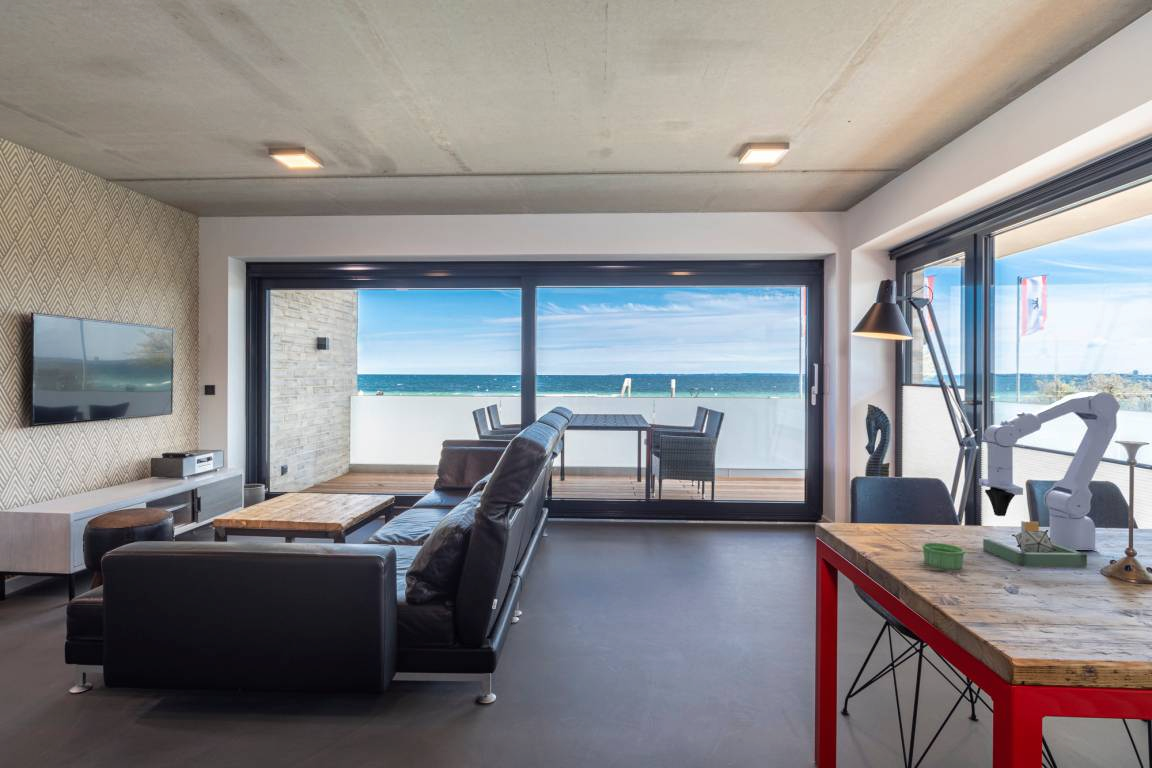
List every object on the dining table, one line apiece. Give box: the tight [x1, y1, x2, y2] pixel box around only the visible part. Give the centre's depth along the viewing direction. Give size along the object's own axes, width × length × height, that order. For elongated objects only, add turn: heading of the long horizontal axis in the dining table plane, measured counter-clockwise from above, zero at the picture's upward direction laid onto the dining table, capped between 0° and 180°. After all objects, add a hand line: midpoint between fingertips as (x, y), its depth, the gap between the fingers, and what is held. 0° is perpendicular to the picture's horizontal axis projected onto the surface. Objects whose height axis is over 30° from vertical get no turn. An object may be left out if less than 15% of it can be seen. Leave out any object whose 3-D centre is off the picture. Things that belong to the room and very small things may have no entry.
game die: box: [1011, 529, 1058, 553], centre depth 151 cm, size 9×8×10 cm
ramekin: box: [921, 542, 965, 570], centre depth 145 cm, size 9×9×4 cm
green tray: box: [982, 520, 1088, 567], centre depth 150 cm, size 16×14×11 cm
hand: (999, 515), depth 162 cm, fingers closed
